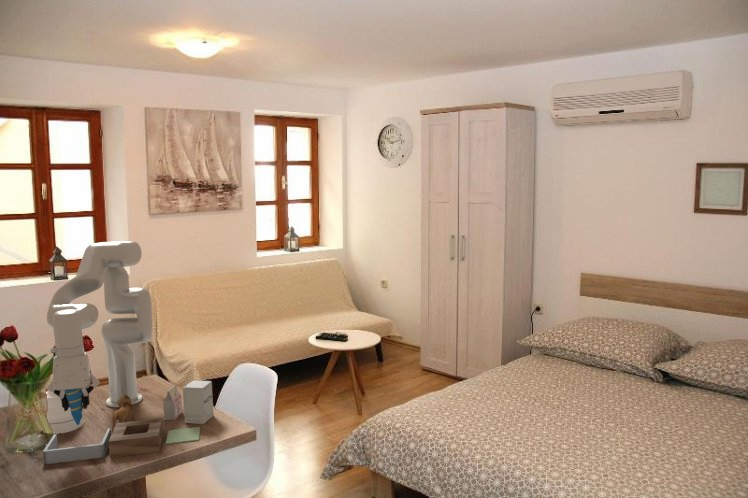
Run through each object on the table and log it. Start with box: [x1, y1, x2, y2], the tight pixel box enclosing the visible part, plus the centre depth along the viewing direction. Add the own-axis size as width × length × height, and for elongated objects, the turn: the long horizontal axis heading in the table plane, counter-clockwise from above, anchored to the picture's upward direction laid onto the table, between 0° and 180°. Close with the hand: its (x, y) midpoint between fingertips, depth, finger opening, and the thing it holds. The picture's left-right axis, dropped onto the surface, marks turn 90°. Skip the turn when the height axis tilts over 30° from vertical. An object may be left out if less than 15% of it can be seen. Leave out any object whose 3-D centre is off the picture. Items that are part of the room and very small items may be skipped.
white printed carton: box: [163, 384, 183, 421], centre depth 217 cm, size 4×7×10 cm, turn 177°
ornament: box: [65, 388, 84, 425], centre depth 191 cm, size 5×5×15 cm
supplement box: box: [182, 380, 214, 425], centre depth 213 cm, size 7×7×13 cm
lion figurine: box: [111, 395, 133, 434], centre depth 210 cm, size 15×5×9 cm, turn 11°
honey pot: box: [45, 389, 85, 435], centre depth 211 cm, size 13×13×18 cm
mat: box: [165, 426, 201, 445], centre depth 201 cm, size 10×10×1 cm
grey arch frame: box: [42, 427, 112, 465], centre depth 192 cm, size 12×17×4 cm
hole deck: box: [108, 417, 165, 458], centre depth 195 cm, size 14×14×5 cm
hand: (76, 407), depth 191 cm, fingers closed on ornament, 4 cm apart
